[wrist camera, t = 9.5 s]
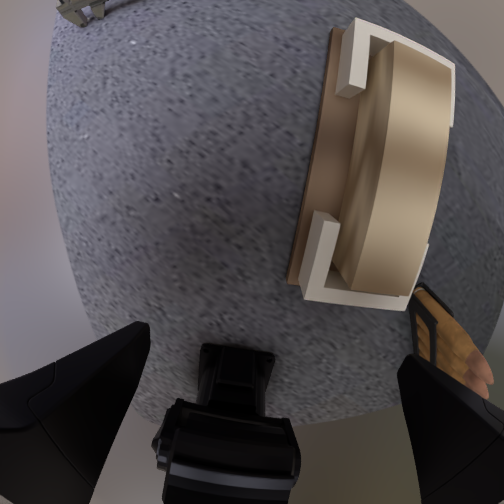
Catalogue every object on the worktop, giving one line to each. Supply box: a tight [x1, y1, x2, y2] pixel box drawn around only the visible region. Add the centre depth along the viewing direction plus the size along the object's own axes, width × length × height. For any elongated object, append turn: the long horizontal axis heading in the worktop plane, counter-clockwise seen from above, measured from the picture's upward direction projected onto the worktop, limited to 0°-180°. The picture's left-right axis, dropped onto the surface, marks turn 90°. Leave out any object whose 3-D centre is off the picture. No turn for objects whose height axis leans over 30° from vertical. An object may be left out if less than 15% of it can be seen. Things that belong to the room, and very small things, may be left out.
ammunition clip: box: [408, 283, 494, 399], centre depth 16 cm, size 11×2×12 cm, turn 25°
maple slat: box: [332, 40, 452, 296], centre depth 14 cm, size 14×4×5 cm, turn 171°
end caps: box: [298, 18, 455, 311], centre depth 15 cm, size 18×8×3 cm, turn 171°
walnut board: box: [286, 27, 373, 286], centre depth 17 cm, size 19×9×1 cm, turn 171°
